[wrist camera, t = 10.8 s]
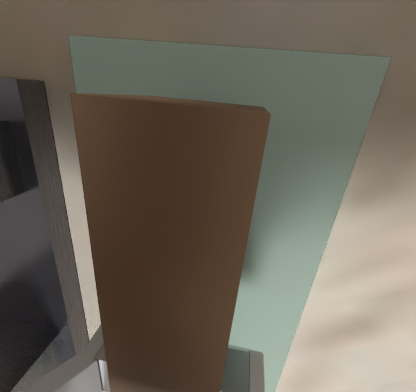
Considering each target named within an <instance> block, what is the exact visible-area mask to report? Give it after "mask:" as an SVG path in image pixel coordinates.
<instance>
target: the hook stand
mask: <svg viewBox="0 0 416 392" xmlns="http://www.w3.org/2000/svg"><path fill="white" fill-rule="evenodd" d="M88 343H89V339H88V333H87V328H86V322H85V316H84V310H83V305H82V299H81V293H80V288H79V282H78V276H77V270H76V265H75V259H74V253H73V248H72V242H71V236H70V230H69V225H68V219H67V213H66V207H65V202H64V196H63V190H62V185H61V179H60V173H59V167H58V162H57V156H56V150H55V145H54V139H53V133H52V127H51V122H50V116H49V110H48V104H47V99H46V93H45V87H44V82H43V81H38V80H28V79H18V78H8V77H0V392H20V391H21V390H23V389H24V388H26V387H27V386H29V385H31V384H32V383H34V382H35V381H37V380H38V379H40V378H41V377H43V376H44V375H46V374H47V373H49V372H50V371H52V370H54V369H55V368H57V367H58V366H60V365H61V364H63V363H64V362H66V361H67V360H69V359H70V358H72V357H73V356H75V355H81V353H82V352H83V350H84V349H85V347H86V346H87V344H88Z"/></svg>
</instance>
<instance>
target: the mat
mask: <svg viewBox="0 0 416 392" xmlns="http://www.w3.org/2000/svg"><path fill="white" fill-rule="evenodd" d="M68 36H69V43H70V51H71V59H72V67H73V75H74V83H75V91H76V93H79V94H115V95H150V96H160V97H170V98H180V99H190V100H200V101H210V102H220V103H230V104H240V105H250V106H260V107H264V108H265V109H266V110H267V111H268V112H269V113H270V114H271V117H270V122H269V128H268V133H267V138H266V144H265V149H264V155H263V160H262V165H261V171H260V176H259V182H258V187H257V192H256V198H255V203H254V209H253V214H252V219H251V225H250V230H249V236H248V241H247V246H246V252H245V257H244V263H243V268H242V273H241V279H240V284H239V290H238V295H237V300H236V306H235V311H234V317H233V322H232V327H231V333H230V338H229V344H230V345H234V346H239V347H243V348H248V349H250V350H255V351H260V352H262V353H263V355H264V376H265V392H275V390H276V387H277V384H278V381H279V378H280V375H281V373H282V370H283V367H284V364H285V361H286V358H287V355H288V352H289V350H290V347H291V344H292V341H293V338H294V335H295V332H296V330H297V327H298V324H299V321H300V318H301V315H302V312H303V309H304V307H305V304H306V301H307V298H308V295H309V292H310V289H311V287H312V284H313V281H314V278H315V275H316V272H317V269H318V267H319V264H320V261H321V258H322V255H323V252H324V249H325V246H326V244H327V241H328V238H329V235H330V232H331V229H332V226H333V224H334V221H335V218H336V215H337V212H338V209H339V206H340V204H341V201H342V198H343V195H344V192H345V189H346V186H347V183H348V181H349V178H350V175H351V172H352V169H353V166H354V163H355V161H356V158H357V155H358V152H359V149H360V146H361V143H362V141H363V138H364V135H365V132H366V129H367V126H368V123H369V120H370V118H371V115H372V112H373V109H374V106H375V103H376V100H377V98H378V95H379V92H380V89H381V86H382V83H383V80H384V78H385V75H386V72H387V69H388V66H389V63H390V60H391V57H381V56H366V55H352V54H337V53H323V52H308V51H294V50H279V49H265V48H250V47H236V46H221V45H207V44H192V43H178V42H163V41H149V40H134V39H119V38H105V37H90V36H76V35H68Z"/></svg>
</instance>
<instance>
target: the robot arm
mask: <svg viewBox="0 0 416 392" xmlns="http://www.w3.org/2000/svg"><path fill="white" fill-rule="evenodd" d="M102 391H105V392H110V386H109V378H108V371H107V363H106V356H105V348H104V341H103V333H102V326H101V325H100V327H99V328H98V330H97V331H96V333H95V334H94V336H93V337H92V338H91V340H90V341H89V343H88V344H87V346H86V347H85V349H84V350H83V352H82V353H81V355H75V356H73V357H72V358H70V359H69V360H67V361H66V362H64V363H63V364H61V365H60V366H58V367H57V368H55V369H54V370H52V371H50V372H49V373H47V374H46V375H44V376H43V377H41V378H40V379H38V380H37V381H35V382H34V383H32V384H31V385H29V386H27V387H26V388H24V389H23V390H21V391H20V392H102ZM220 392H265V376H264V355H263V353H262V352H260V351H255V350H250V349H248V348H243V347H239V346H234V345H230V344H228V349H227V354H226V360H225V365H224V371H223V376H222V382H221V387H220Z"/></svg>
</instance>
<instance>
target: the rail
mask: <svg viewBox="0 0 416 392" xmlns="http://www.w3.org/2000/svg"><path fill="white" fill-rule="evenodd" d="M70 94H71V102H72V109H73V117H74V124H75V132H76V139H77V147H78V154H79V162H80V169H81V177H82V184H83V192H84V199H85V206H86V214H87V221H88V229H89V236H90V244H91V251H92V259H93V266H94V274H95V281H96V289H97V296H98V304H99V311H100V318H101V326H102V333H103V341H104V348H105V356H106V363H107V371H108V378H109V386H110V392H220V387H221V382H222V376H223V371H224V365H225V360H226V354H227V349H228V344H229V338H230V333H231V327H232V322H233V317H234V311H235V306H236V300H237V295H238V290H239V284H240V279H241V273H242V268H243V263H244V257H245V252H246V246H247V241H248V236H249V230H250V225H251V219H252V214H253V209H254V203H255V198H256V192H257V187H258V182H259V176H260V171H261V165H262V160H263V155H264V149H265V144H266V138H267V133H268V128H269V122H270V117H271V114H270V113H269V112H268V111H267V110H266V109H265V108H264V107H260V106H250V105H240V104H230V103H220V102H210V101H200V100H190V99H180V98H170V97H160V96H150V95H115V94H79V93H70Z"/></svg>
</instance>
